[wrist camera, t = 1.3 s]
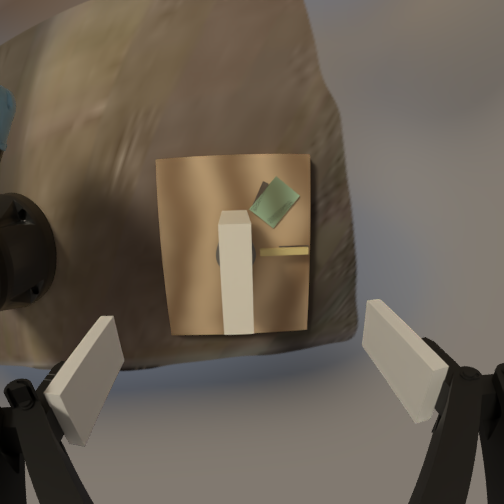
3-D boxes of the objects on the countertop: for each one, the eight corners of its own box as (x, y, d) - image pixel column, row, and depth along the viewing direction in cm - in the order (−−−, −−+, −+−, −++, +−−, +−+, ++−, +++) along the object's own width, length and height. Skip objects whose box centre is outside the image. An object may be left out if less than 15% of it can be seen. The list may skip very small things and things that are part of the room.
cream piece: (219, 290, 35) (214, 335, 25) (214, 208, 33) (206, 225, 23) (304, 286, 36) (328, 328, 26) (305, 206, 33) (334, 221, 24)
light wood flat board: (173, 329, 38) (171, 335, 36) (158, 159, 33) (155, 159, 31) (304, 323, 38) (307, 330, 37) (306, 154, 33) (310, 154, 32)
